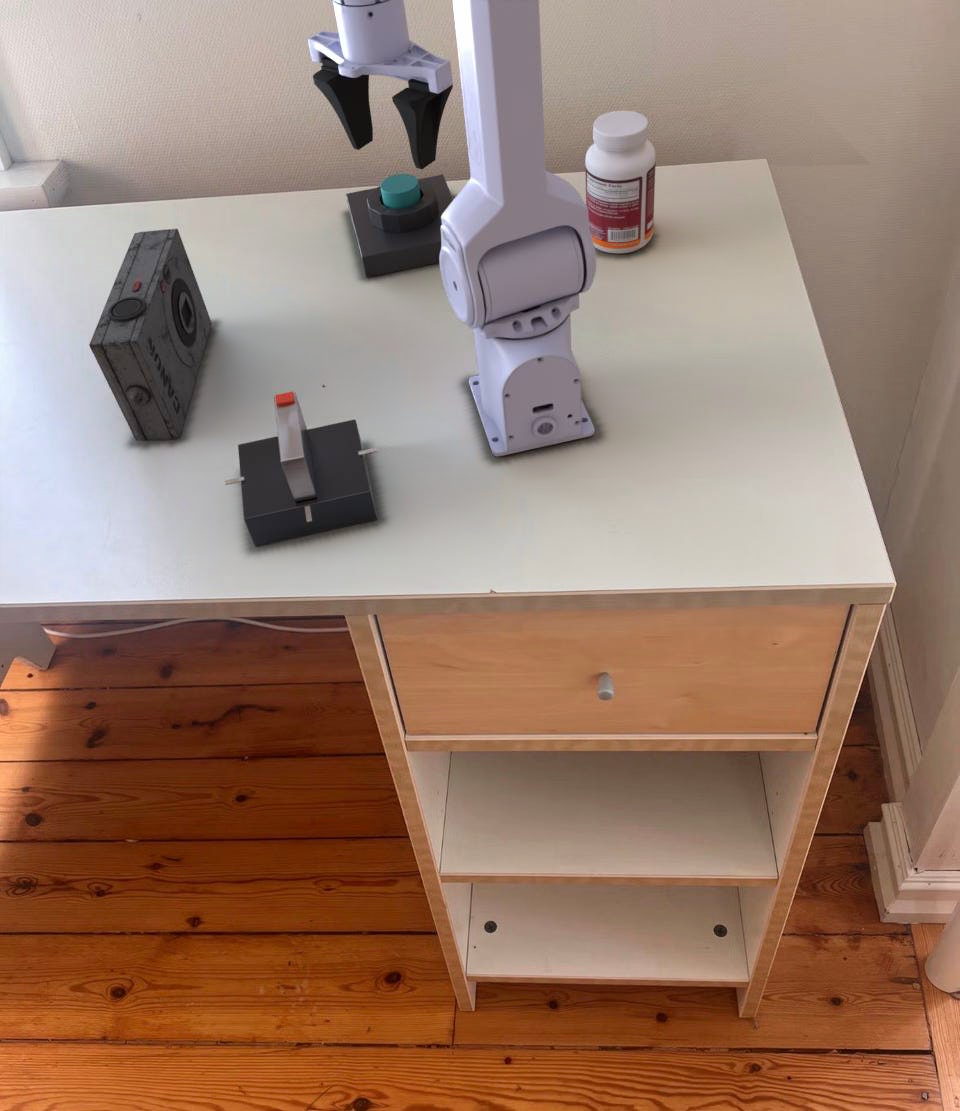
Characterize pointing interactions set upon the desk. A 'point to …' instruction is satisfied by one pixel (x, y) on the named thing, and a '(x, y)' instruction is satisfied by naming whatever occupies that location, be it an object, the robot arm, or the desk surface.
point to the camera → (153, 335)
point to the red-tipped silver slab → (294, 446)
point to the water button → (400, 191)
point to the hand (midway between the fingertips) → (393, 154)
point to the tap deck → (336, 484)
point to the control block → (399, 228)
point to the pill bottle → (620, 182)
